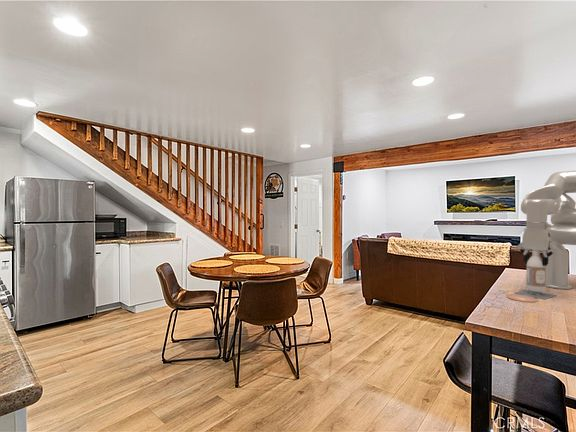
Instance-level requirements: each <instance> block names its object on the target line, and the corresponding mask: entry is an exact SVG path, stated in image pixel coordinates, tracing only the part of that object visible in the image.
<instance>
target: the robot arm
mask: <svg viewBox="0 0 576 432" xmlns="http://www.w3.org/2000/svg"><path fill="white" fill-rule="evenodd" d="M575 193H576V170H568V171H557V172H553V173H551V175H550V176H549V177H548V179H547V180H546V182H545V183H544V185H543V186H541V187H539V188H537V189H535V190H532V191H530V192H529V193H527V194H526V195H525V196H524V198H523V200H522V201H521V204H520V211H521V212H522V213H523V214H524V215H526V222H525V223H526V225H525V226H526V228H524V230H523V235H522V241H521V242H520V243H519V244H518V245H516V248H517V249H518V250H519V251H520V252H521V253H522V254H523V257H524V259H523V260H524V261H523V262H524V264H525V265H527V261H528V260H529V258H530V257H531V255H530V254H529V253H530V252H531V251H532V250H537V251H540V252H542V255H543V257H542V259H543V266H546V274H545V288H552V289H557V290H558V289H559V290H571V289H572V288H573V286H572V284H569V262H570V261H569V259H570V257H569V255H570V253H569V251H568V250H567V248H566V247H565V246H564V245H567V246H569V245H570V246H576V201H575V200H574V199H573V197H572V196H570V195H568V194H575ZM548 216H550V223H549V222H548Z"/></svg>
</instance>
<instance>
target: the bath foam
mask: <svg viewBox="0 0 576 432" xmlns="http://www.w3.org/2000/svg"><path fill="white" fill-rule="evenodd" d="M541 256H542V255H541V251H537V250H531V255H530V258H529V260H528V261H527V264H526V270H525V271H526V272H525V273H526V277H525V278H526V279H525V281H526V282H525V284H526V285H525V287H526V289H525V290H530V291H534V292H541V293H545V292H546V286H545V274H546V266H543V257H541Z"/></svg>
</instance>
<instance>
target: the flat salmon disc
mask: <svg viewBox="0 0 576 432" xmlns="http://www.w3.org/2000/svg"><path fill="white" fill-rule="evenodd" d="M506 298H507V299H510V300H512V301H517V302H521V303H522V302H523V303H537V302H539V298H535V297H531V296H527V295H520V294H515V293H510V294H509V293H508V294H507V295H506Z"/></svg>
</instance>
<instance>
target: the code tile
mask: <svg viewBox="0 0 576 432" xmlns="http://www.w3.org/2000/svg"><path fill="white" fill-rule="evenodd" d="M514 294H520V295H527V296H531V297H534V298H537V299H541V300H548V299H551V298H553V297H556V296H557V295H556V294H553V293H551V294H550V293H546V292H534V291H530V290H527V289H523V290H519V291H516V292H514Z"/></svg>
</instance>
